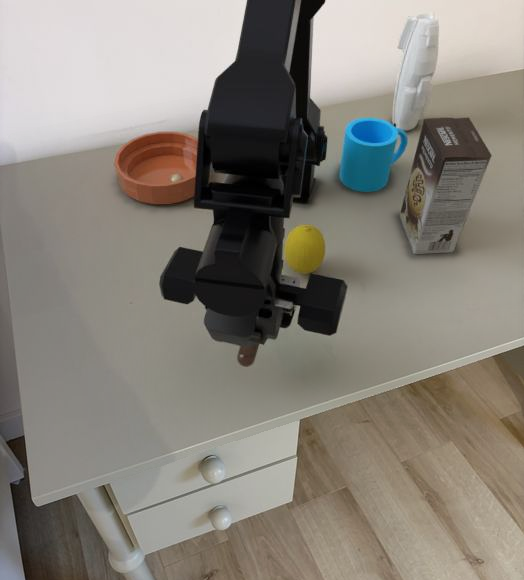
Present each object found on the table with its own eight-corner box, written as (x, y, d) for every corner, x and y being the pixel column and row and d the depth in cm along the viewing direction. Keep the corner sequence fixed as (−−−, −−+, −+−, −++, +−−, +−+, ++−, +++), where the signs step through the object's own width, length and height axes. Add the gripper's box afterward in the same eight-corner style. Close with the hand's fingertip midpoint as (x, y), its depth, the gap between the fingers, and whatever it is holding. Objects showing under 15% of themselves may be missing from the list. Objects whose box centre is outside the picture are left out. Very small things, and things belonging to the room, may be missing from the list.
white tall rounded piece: (377, 119, 100) (399, 138, 96) (396, 12, 86) (423, 30, 82) (406, 111, 102) (429, 130, 97) (430, 6, 87) (457, 23, 83)
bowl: (223, 160, 91) (222, 139, 88) (192, 214, 83) (190, 193, 79) (142, 146, 94) (138, 125, 91) (104, 197, 85) (98, 176, 82)
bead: (189, 178, 85) (179, 183, 87) (178, 168, 84) (169, 173, 85) (184, 190, 84) (175, 194, 86) (173, 179, 83) (164, 184, 84)
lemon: (326, 262, 76) (332, 218, 70) (316, 289, 73) (321, 245, 67) (290, 254, 77) (292, 209, 71) (278, 279, 74) (279, 235, 68)
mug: (358, 197, 85) (366, 151, 79) (329, 171, 90) (335, 126, 83) (416, 176, 89) (428, 130, 82) (386, 151, 93) (395, 106, 87)
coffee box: (397, 215, 83) (422, 116, 70) (437, 213, 83) (470, 114, 70) (412, 255, 77) (442, 156, 64) (455, 253, 77) (494, 154, 65)
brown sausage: (251, 300, 62) (260, 296, 60) (265, 307, 63) (274, 303, 61) (231, 363, 59) (240, 362, 58) (246, 370, 60) (255, 368, 59)
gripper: (122, 274, 46) (152, 376, 58) (334, 319, 43) (317, 416, 55) (170, 197, 52) (188, 303, 65) (358, 232, 49) (338, 336, 62)
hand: (254, 339), depth 61 cm, fingers closed on brown sausage, 2 cm apart
